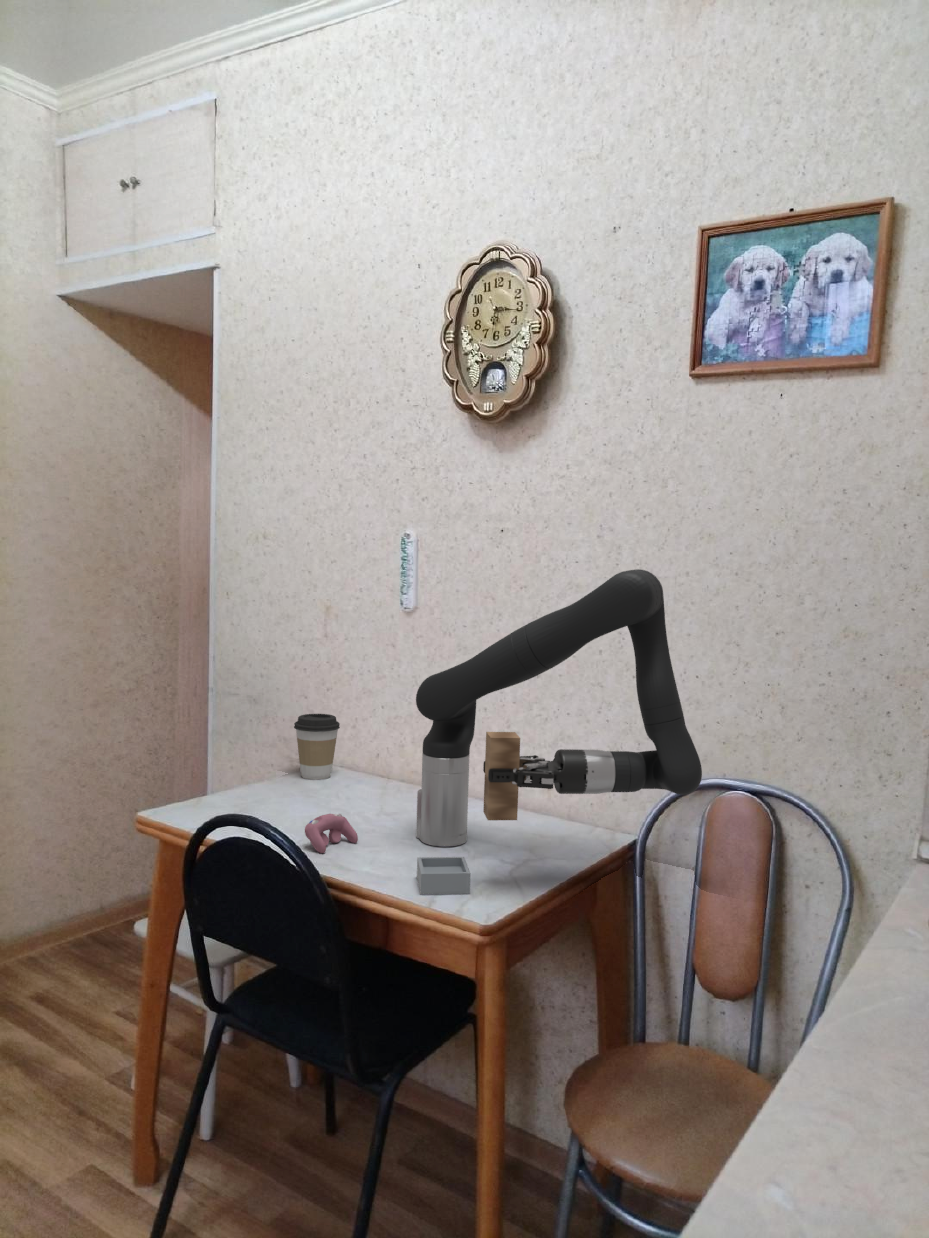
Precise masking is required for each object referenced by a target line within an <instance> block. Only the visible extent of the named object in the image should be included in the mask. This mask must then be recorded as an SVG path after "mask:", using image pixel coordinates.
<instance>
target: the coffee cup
mask: <svg viewBox="0 0 929 1238" xmlns="http://www.w3.org/2000/svg"><path fill="white" fill-rule="evenodd" d="M340 724H341V723H340V722H339V721H337V717H336V716H335V715H334V714H327V713H306V714H301V715H299V716H298V717H297V721H294V726H293V728H294V730H295V732H296V743H297V748H298V750H297V751H298V761H299V770H300V774H301V778H303V779H304V780H310V781H311V780H312V781H321V779H322V780H327V779H329V778H330V777H331V774H332V771H333V765H334V764H333V763H334V757H335V751H336V743H337V737H338V730H339V729H340V727H341V726H340Z"/></svg>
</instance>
